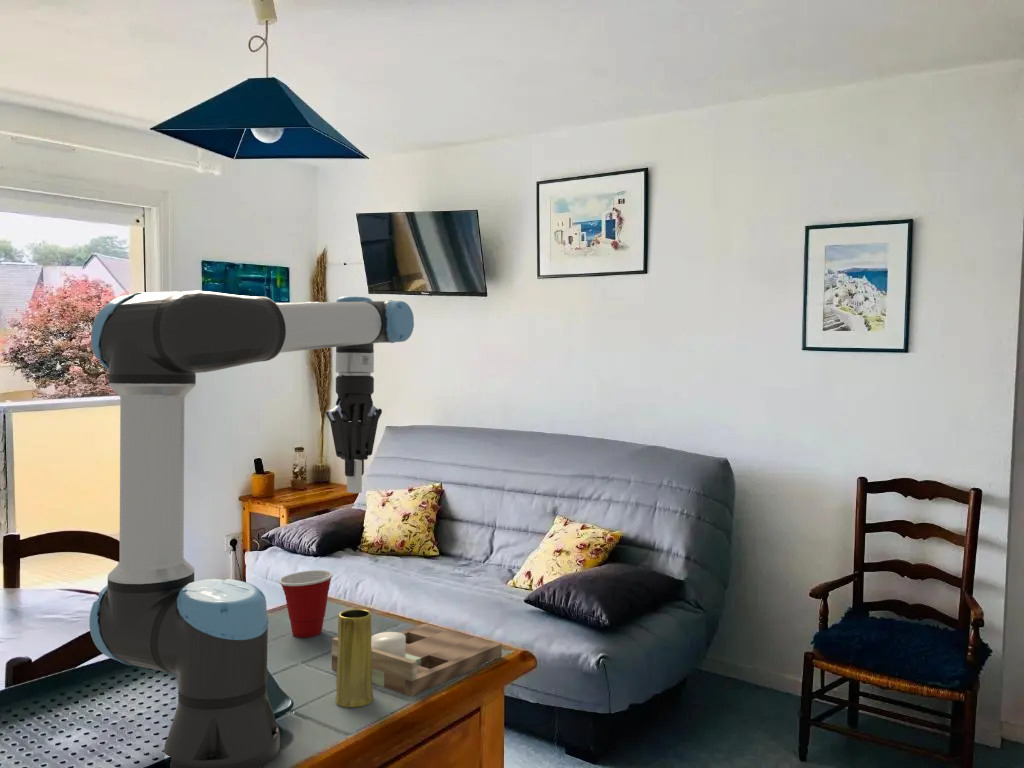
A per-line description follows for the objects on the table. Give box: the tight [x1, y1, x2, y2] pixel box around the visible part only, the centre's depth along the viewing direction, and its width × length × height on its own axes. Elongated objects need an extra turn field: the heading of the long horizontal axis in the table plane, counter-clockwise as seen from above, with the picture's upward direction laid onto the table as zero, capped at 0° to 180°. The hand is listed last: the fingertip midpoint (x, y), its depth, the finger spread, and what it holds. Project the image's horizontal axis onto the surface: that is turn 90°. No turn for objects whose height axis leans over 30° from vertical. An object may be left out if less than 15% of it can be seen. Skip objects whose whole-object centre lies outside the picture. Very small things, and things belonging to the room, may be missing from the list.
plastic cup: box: [278, 569, 334, 639], centre depth 166 cm, size 11×11×12 cm
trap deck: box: [331, 623, 503, 697], centre depth 150 cm, size 24×20×6 cm
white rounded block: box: [371, 631, 406, 658], centre depth 144 cm, size 6×6×4 cm
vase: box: [334, 608, 375, 709], centre depth 132 cm, size 6×6×14 cm
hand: (354, 492), depth 163 cm, fingers closed
